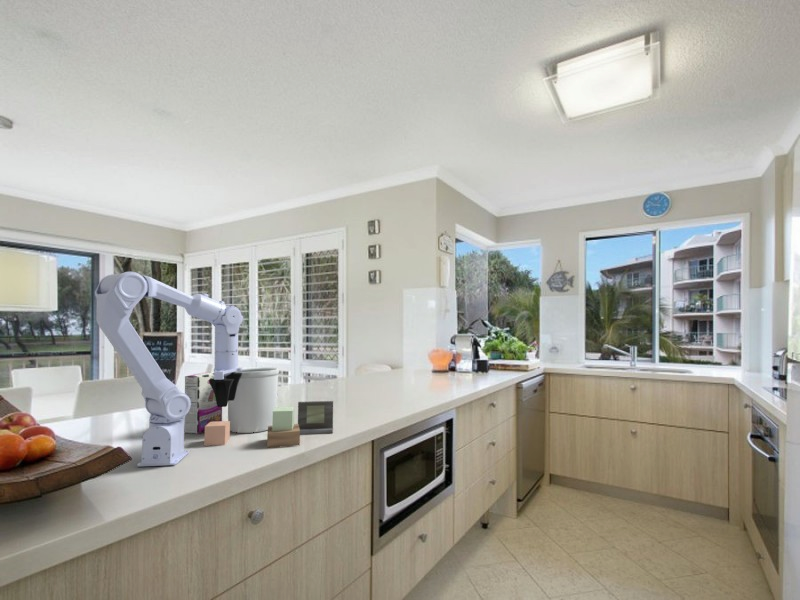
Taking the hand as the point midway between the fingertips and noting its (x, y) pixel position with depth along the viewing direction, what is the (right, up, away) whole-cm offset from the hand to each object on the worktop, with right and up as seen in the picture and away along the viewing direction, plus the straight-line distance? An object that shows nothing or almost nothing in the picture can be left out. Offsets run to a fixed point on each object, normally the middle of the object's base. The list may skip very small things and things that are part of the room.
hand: (226, 403), depth 108 cm
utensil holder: (+1, -12, +16) cm, 20 cm away
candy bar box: (-13, -11, +14) cm, 22 cm away
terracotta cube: (-3, -11, +1) cm, 11 cm away
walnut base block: (+15, -11, +1) cm, 18 cm away
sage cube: (+15, -7, +2) cm, 16 cm away
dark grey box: (+21, -11, +12) cm, 27 cm away
